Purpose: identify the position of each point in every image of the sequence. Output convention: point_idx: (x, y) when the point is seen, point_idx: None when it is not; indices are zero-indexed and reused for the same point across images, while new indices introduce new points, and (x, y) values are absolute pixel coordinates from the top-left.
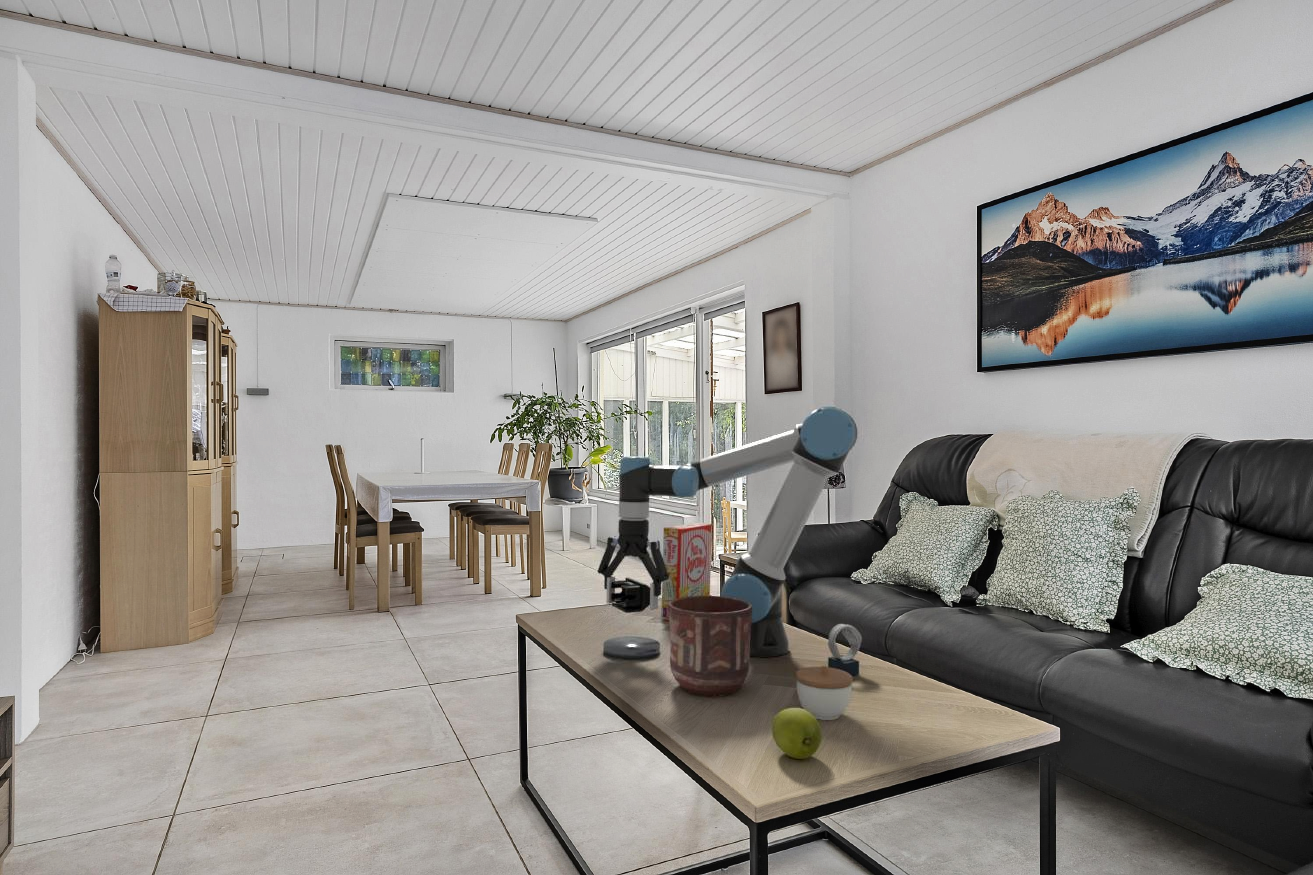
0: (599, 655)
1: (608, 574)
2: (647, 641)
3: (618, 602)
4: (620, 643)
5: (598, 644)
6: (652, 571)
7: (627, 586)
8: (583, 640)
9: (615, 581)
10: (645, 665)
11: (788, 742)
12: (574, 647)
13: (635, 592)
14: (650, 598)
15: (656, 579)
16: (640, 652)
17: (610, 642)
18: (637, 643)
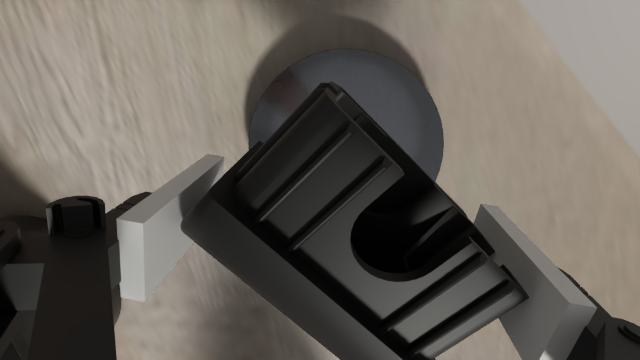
0: (432, 63)
1: (603, 333)
2: None
3: (421, 193)
4: None
5: (474, 185)
6: (43, 294)
7: (332, 141)
8: (536, 210)
9: (497, 291)
10: (244, 10)
11: None
12: (546, 123)
13: (269, 139)
14: (196, 177)
15: (58, 236)
16: (282, 73)
17: (419, 139)
18: None
